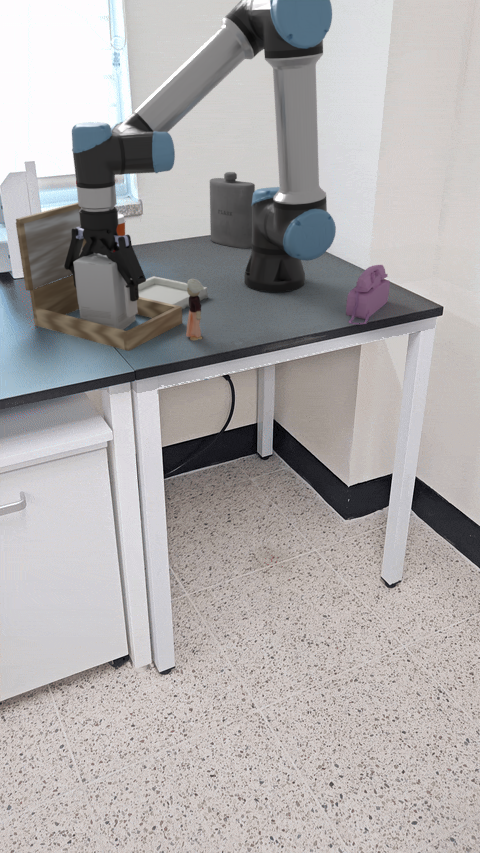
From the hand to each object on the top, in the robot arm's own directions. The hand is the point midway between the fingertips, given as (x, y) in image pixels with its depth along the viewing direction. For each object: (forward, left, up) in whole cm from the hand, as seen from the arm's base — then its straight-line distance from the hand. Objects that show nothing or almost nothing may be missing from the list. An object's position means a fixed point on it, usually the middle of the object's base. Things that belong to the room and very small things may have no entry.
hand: (107, 308), depth 154 cm
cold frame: (0, 0, -4) cm, 4 cm away
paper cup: (+25, -31, -4) cm, 40 cm away
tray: (0, -18, -4) cm, 18 cm away
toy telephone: (-44, -37, -4) cm, 57 cm away
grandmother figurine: (-20, -4, -4) cm, 21 cm away
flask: (+13, -69, -4) cm, 70 cm away
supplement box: (0, 0, -4) cm, 4 cm away
